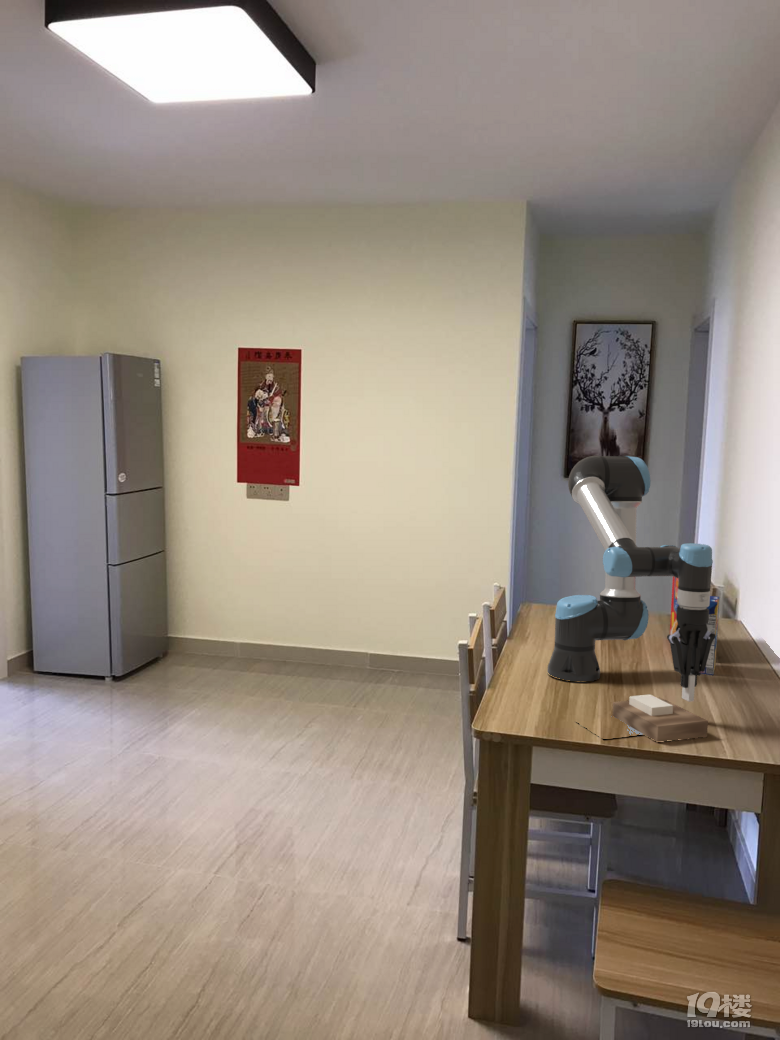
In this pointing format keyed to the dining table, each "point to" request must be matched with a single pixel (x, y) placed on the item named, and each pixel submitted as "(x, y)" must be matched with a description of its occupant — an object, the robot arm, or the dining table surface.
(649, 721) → the brown wooden slab
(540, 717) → the dining table surface
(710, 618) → the beverage box
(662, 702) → the white rectangular block
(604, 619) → the robot arm
